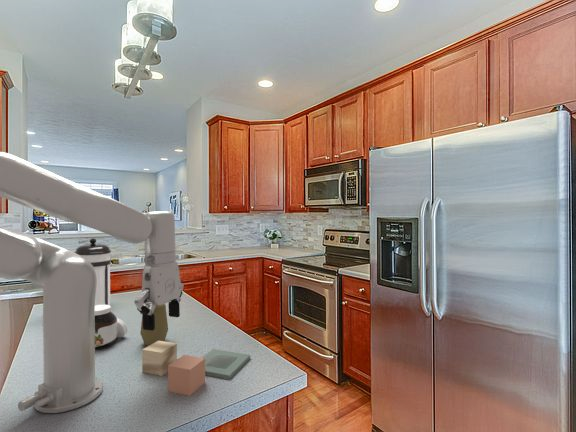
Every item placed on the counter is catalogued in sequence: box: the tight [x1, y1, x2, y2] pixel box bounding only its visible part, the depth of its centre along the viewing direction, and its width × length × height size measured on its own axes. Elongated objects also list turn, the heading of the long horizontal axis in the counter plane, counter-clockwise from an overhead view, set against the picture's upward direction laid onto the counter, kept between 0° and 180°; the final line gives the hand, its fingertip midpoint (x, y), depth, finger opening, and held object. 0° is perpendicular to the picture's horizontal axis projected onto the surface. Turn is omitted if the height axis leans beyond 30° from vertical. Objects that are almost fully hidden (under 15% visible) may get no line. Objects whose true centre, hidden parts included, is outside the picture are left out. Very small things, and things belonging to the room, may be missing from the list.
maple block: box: [141, 341, 178, 377], centre depth 85 cm, size 6×6×6 cm
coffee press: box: [73, 238, 116, 306], centre depth 131 cm, size 17×16×30 cm
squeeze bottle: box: [139, 303, 169, 347], centre depth 101 cm, size 8×8×18 cm
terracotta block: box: [167, 354, 206, 397], centre depth 77 cm, size 6×6×6 cm
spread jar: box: [95, 305, 128, 351], centre depth 101 cm, size 12×11×12 cm
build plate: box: [201, 348, 251, 380], centre depth 87 cm, size 12×12×1 cm
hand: (162, 322), depth 85 cm, fingers open, 9 cm apart
